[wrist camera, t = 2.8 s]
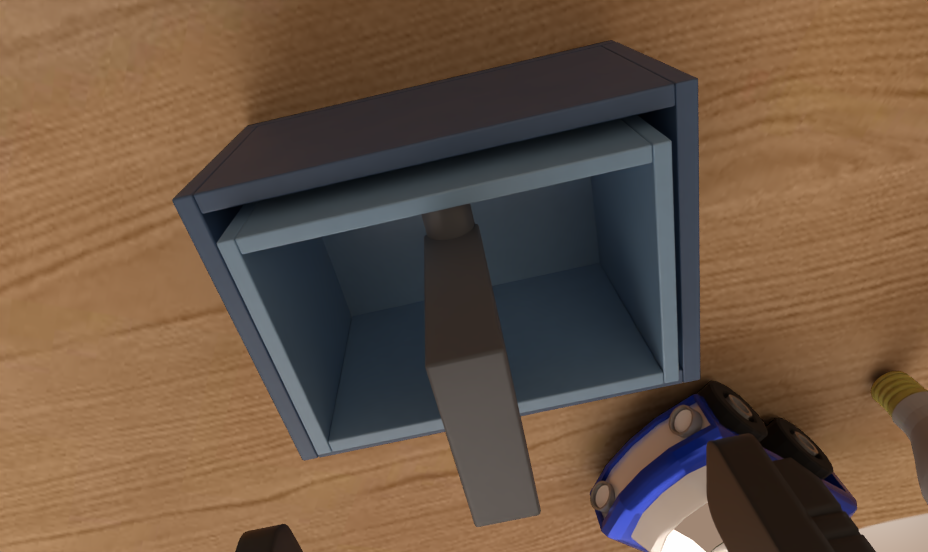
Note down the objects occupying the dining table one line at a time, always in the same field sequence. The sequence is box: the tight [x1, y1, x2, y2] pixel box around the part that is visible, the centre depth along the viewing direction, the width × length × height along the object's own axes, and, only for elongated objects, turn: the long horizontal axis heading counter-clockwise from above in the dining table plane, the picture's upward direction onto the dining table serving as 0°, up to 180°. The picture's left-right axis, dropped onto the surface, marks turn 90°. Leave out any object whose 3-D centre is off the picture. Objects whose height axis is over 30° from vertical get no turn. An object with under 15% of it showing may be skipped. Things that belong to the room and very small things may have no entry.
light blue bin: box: [217, 115, 679, 527], centre depth 18 cm, size 12×8×13 cm, turn 102°
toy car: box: [590, 381, 857, 552], centre depth 28 cm, size 9×12×10 cm
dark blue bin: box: [173, 40, 700, 460], centre depth 21 cm, size 14×10×8 cm
